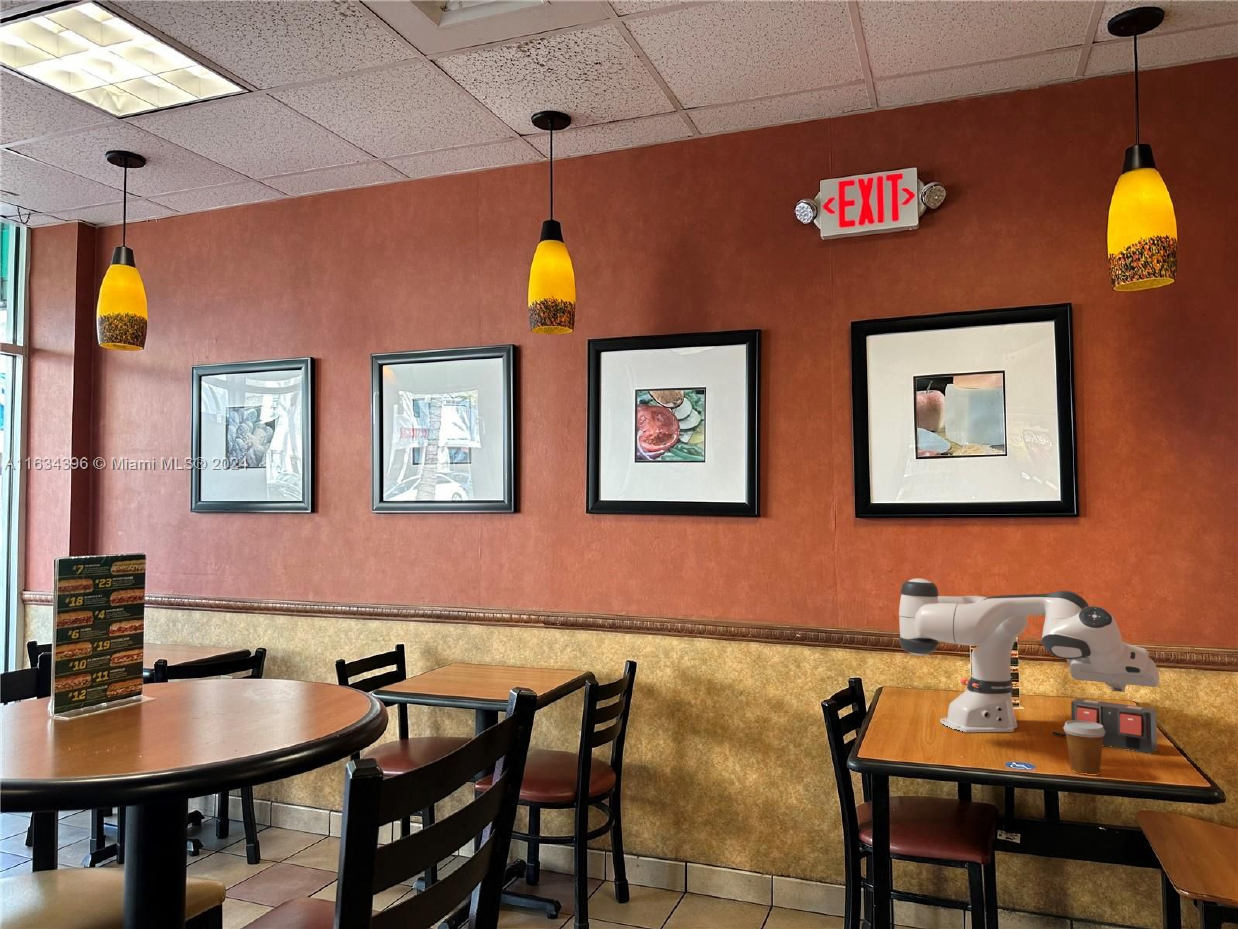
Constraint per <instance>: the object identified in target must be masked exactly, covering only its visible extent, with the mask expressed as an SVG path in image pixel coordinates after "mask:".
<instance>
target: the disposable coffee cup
mask: <svg viewBox="0 0 1238 929" xmlns="http://www.w3.org/2000/svg"><path fill="white" fill-rule="evenodd" d="M1062 728H1063V730H1064V733H1065V734H1066V737H1065V738H1066V744H1067V750H1068V756H1069V762H1070V769H1071V771H1072V770H1074V771H1076V772H1079V773H1087V774H1098V773H1099V774H1100V772H1101V762H1102V755H1103V746H1102V745H1103V736H1104V734H1105V730H1104V728H1103V725H1101V724H1098V723H1095V722H1090V721H1081V720H1072V719H1071V720H1067V721H1065V723H1064V726H1062Z"/></svg>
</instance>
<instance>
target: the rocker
mask: <svg viewBox="0 0 1238 929" xmlns="http://www.w3.org/2000/svg"><path fill="white" fill-rule="evenodd" d="M1097 718H1098V710H1093V709H1086V708H1079V707H1077V720H1081V721H1090V722H1095V723H1097Z"/></svg>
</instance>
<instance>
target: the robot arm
mask: <svg viewBox="0 0 1238 929" xmlns="http://www.w3.org/2000/svg"><path fill="white" fill-rule="evenodd" d="M898 607H899V608H898V617H899V618H898V619H899V620H898V621H899V626H898V628H899V635H900V636H899V639H898V640H899V644H900V648H901V649H902V650H903V651H904V652H907V653H909V654H911V655H914V656H926V655H929V654H930V655H931V654H933V653H934V652H935V651H936V649H937V647H938V645H939V644H940V642H942V643H948V644H955V645H963V646H976V647H975V648H973V650H972V652H971V656H970V658H971V676H970V678H969V680H968V679H966V678H965V677H962V678H960V679H959V683H960V684H961V685H963V686H966V690H965V691H963V692H962V693H961V694H960V695H958V696H957V697H956V698H954V700H952V701H951V702H950V703H949V706H948V710H947V717H943V718H940V719H939V721H940V722H941V723H942V724H944V725H945V726H944V725H943V726H944V727H946V726H948V727H947V728H949V727H950V728H949V729H951V728H952V729H951V730H954V729H957V730H960V731H959V732H962V731H963V733H1014V732H1015V729H1017V728H1018V723H1017V720H1016V717H1015V715H1016V714H1015V712H1014V705H1013V698H1012V695H1013V680H1012V679H1011V658H1012V657H1011V656H1012V655H1011V654H1012V650H1013V647H1014V643H1015V641H1016V639H1017V638H1018V637H1019V636H1020V635H1021V634H1023V632H1024V631H1025V629H1026V628H1027V626H1028V616H1045V617H1044V624H1043V627H1042V634H1041V635H1042V636H1041V645H1042V646H1043V648H1044V649H1045V650H1046V651H1047V652H1048V653H1050V654H1051V655H1053V656H1054V657H1056V658H1059V659H1061V660H1062V659H1063V660H1066V662H1067V663H1068V664H1069V665H1070V666H1069V672H1070V675H1071V677H1072V679H1074V680H1077V681H1086V682H1095V683H1104V684H1105V685H1107V686H1108V687H1109V688H1111V691H1112V692H1121V693H1125V691H1126V687H1127V686H1128V685H1129V686H1139V687H1148V688H1149V687H1150V688H1156V687H1157V686H1158V685H1159V683H1160V673H1159V669H1158V668H1157V665H1156V663H1155V662H1154V660H1153V659H1152V658H1150V657H1149V652H1148V649H1146V648H1143V647H1140V646H1137V645H1132V644H1129V643H1126V642H1125V641H1122V634H1121V630H1120V628H1119V625H1118V624H1117V621H1116V620H1115V618H1114V616H1113V615H1112V614H1111V613H1110V612H1109V611H1108V610H1106V608H1103V607H1100V606H1098V605H1097V606H1094V605H1092V606H1091V605H1089V604H1088V601H1086V600H1085V599H1084V598H1083V597H1082V596H1081V595H1079V594H1078V593H1076V592H1073V591H1071V590H1058V591H1054V592H1048V593H1034V594H1033V593H1032V594H1030V593H1029V594H1006V595H993V596H989V597H988V596H982V595H962V596H961V595H960V596H959V595H958V596H952V595H951V596H950V595H949V596H948V595H946V596H945V595H939V589H938V587H937V585H936V584H935V583H934V582H931V581H930V580H928V579H926V578H918V577H917V578H911V579H910V580H906V581H904V582H903V583H902V585H901V588H900V600H899V606H898ZM940 722H939V723H940ZM941 723H940V724H941ZM942 724H941V725H942ZM957 730H956V731H957Z"/></svg>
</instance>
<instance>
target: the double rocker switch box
mask: <svg viewBox="0 0 1238 929" xmlns="http://www.w3.org/2000/svg"><path fill="white" fill-rule="evenodd" d="M1077 707H1079V708H1086V709H1093V710H1098V718H1097V723H1098V724H1101V725H1103V728H1104V730H1105V734H1104V736H1103V745H1104V746H1103V747H1105V746H1112V747H1115V748H1114V749H1117V748H1121V749H1120V750H1122V749H1129V750H1134V751H1138V752H1137V753H1140V752H1143V753H1142V754H1146V753H1153V754H1154V753H1155V752H1156V751H1157V750H1158V732H1157V730H1158V729H1157V708H1153V707H1145V706H1137V705H1131V704H1122V703H1116V702H1110V701H1108V702H1107V701H1102V700H1101V701H1100V700H1094V699H1093V700H1092V699H1086V698H1078V697H1077V698H1075V699H1074V700H1072V701H1071V702H1070V708H1071V714H1070V715H1071V720H1077ZM1120 714H1128V715H1135V716H1142V735H1141V736H1140V735H1134V734H1127V733H1121V732H1120ZM1052 735H1053V736H1059V737H1064V736H1066V732H1059V731H1052ZM1116 747H1117V748H1116ZM1156 749H1157V750H1156ZM1155 750H1156V751H1155ZM1134 751H1133V752H1134Z"/></svg>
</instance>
